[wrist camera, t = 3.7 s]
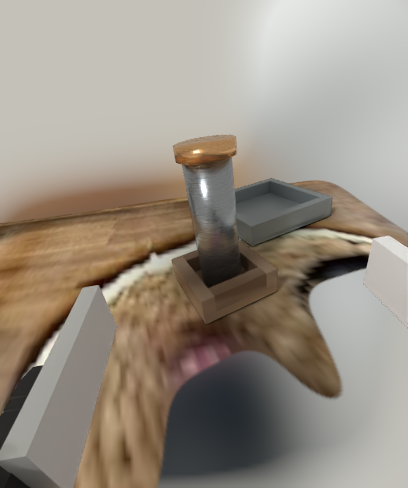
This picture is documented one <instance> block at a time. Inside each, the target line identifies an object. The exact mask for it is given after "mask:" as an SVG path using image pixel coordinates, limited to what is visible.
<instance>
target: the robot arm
mask: <svg viewBox="0 0 408 488" xmlns="http://www.w3.org/2000/svg"><path fill="white" fill-rule="evenodd" d="M363 284H364V285H365V286H366V287H367V288H368V289H369V290H370V291H371V292H372V293H373V294H374V295H375V296H376V297H377V298H378V299H379V300H380V301H381V302H382V303H383V304H384V305H385V306H386V307H387V308H388V309H389V310H390V311H391V312H392V313H393V314H394V315H395V316H396V317H397V318H398V319H399V320H400V321H401V322H402V323H403V324H404V325H405V326H406V327H407V328H408V248H407V247H405V246H404V245H402V244H401V243H399V242H398V241H396V240H395V239H393V238H392V237H390V236H385V237H379V238H373V241H372V246H371V251H370V255H369V260H368V264H367V269H366V274H365V279H364V283H363ZM116 328H117V325H116V322H115V320H114V318H113V316H112V314H111V311H110V309H109V307H108V305H107V302H106V300H105V298H104V296H103V294H102V291H101V289H100V287H99V285H97V286H91V287H86V288H82V290H81V292H80V294H79V296H78V298H77V300H76V302H75V304H74V306H73V308H72V310H71V312H70V314H69V316H68V318H67V320H66V322H65V324H64V326H63V328H62V330H61V332H60V334H59V336H58V338H57V340H56V342H55V344H54V346H53V348H52V350H51V351H50V353H49V355H48V357H47V359H46V361H45V363H44V365H42V366H36V367H33V368H32V369H31V370H30V371H29V372H28V373H27V374H26V375H25V376H24V377H23V378H22V380H21V381H20V382H19V384H18V386H17V387H16V389H15V391H14V393H13V395H12V396H11V400H9V402H8V403H7V405H6V407H5V409H4V413H3V414H1V416H0V488H73V487H74V484H75V480H76V476H77V473H78V469H79V465H80V462H81V458H82V454H83V450H84V447H85V443H86V439H87V436H88V432H89V428H90V424H91V421H92V417H93V413H94V410H95V406H96V402H97V399H98V395H99V391H100V387H101V384H102V380H103V376H104V373H105V369H106V365H107V361H108V358H109V354H110V350H111V347H112V343H113V339H114V336H115V332H116Z"/></svg>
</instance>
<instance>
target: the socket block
mask: <svg viewBox="0 0 408 488" xmlns="http://www.w3.org/2000/svg"><path fill="white" fill-rule="evenodd" d="M239 250H240V262H241V273H242V274H241V275H239V276H236V277H234V278H232V279H229V280H227V281H224V282H222V283H220V284H217V285H215V286H213V287H210V288H208V287H207V286H206V285H205V284H204V282H203V277H202V272H201V266H200V261H199V255H198V250H196V251H193V252H191V253H188V254H185V255H182V256H180V257H177V258H174V259H172V263H173V267H174V271H175V275H176V279H177V281H178V282H179V284H180V285H181V287H182V288H183V290H184V292H185V293H186V295H187V296H188V298H189V299H190V301H191V302H192V304H193V305H194V307H195V309H196V310H197V312H198V313H199V315H200V316H201V318H202V319H203V321H204V322H205V324H208V323H210V322H212V321H214V320H217V319H219V318H221V317H223V316H225V315H227V314H229V313H231V312H234V311H236V310H238V309H240V308H242V307H244V306H246V305H248V304H251V303H253V302H255V301H257V300H259V299H261V298H263V297H265V296H267V295H270V294H272V293H274V292H276V291H277V268H276V267H274V266H273V265H272V264H270V263H269V262H268V261H266V260H265V259H264V258H262V257H261V256H259V255H258V254H257V253H255V252H254V251H253V250H251V249H250V248H249V247H247V246H246V245H245V244H243V243H242V242H240V241H239Z"/></svg>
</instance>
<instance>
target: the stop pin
mask: <svg viewBox="0 0 408 488" xmlns="http://www.w3.org/2000/svg"><path fill="white" fill-rule="evenodd" d="M173 150H174V155H175V160H176V163H178V164H182V167H183V173H184V178H185V184H186V189H187V195H188V200H189V206H190V211H191V217H192V222H193V228H194V233H195V239H196V244H197V250H198V255H199V261H200V266H201V272H202V277H203V282H204V284H205V285H206V286H207V287H208V288H210V287H213V286H215V285H217V284H220V283H222V282H224V281H227V280H229V279H232V278H234V277H236V276H239V275H241V274H242V273H241V262H240V250H239V238H238V226H237V214H236V202H235V190H234V178H233V167H232V156H234V155H236V154H237V145H236V136H233V135H216V136H207V137H200V138H195V139H190V140H186V141H183V142H180V143H177V144H175V145H174V146H173Z"/></svg>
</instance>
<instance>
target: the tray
mask: <svg viewBox="0 0 408 488" xmlns="http://www.w3.org/2000/svg"><path fill="white" fill-rule="evenodd" d="M234 190H235V202H236V214H237V226H238V236H239V237H240V238H241V239H243V240H244V241H246V242H247V243H248V244H250V245H251V246H254V245H257V244H259V243H262V242H264V241H267V240H269V239H272V238H274V237H277V236H280V235H282V234H285V233H287V232H290V231H292V230H295V229H297V228H300V227H302V226H305V225H308V224H310V223H313V222H315V221H318V220H320V219H323V218H325V217H328V216H331V207H332V198H333V197H331V196H327V195H324V194H321V193H318V192H314V191H311V190H308V189H305V188H301V187H298V186H295V185H292V184H288V183H285V182H281V181H279V180H275V179H272V178H270V179H267V180H264V181H260V182H257V183H254V184H251V185H248V186H244V187H241V188H237V189H234Z"/></svg>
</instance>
